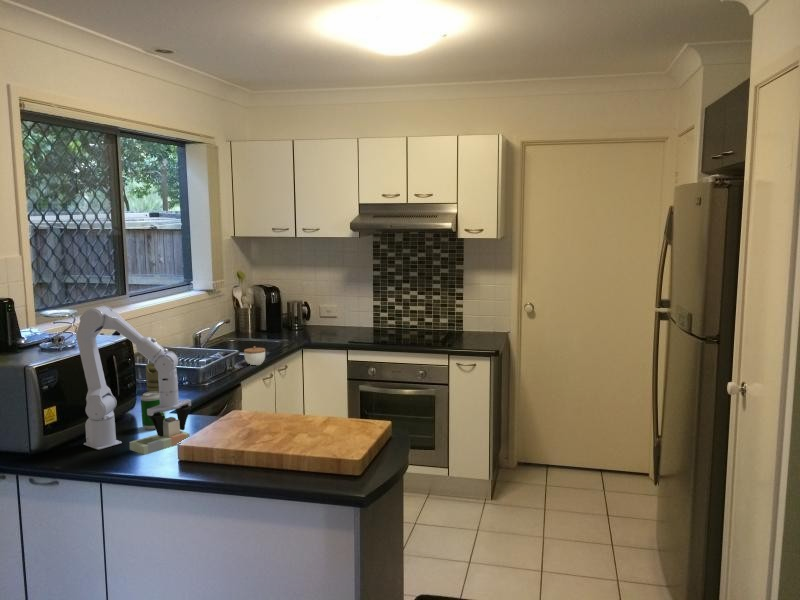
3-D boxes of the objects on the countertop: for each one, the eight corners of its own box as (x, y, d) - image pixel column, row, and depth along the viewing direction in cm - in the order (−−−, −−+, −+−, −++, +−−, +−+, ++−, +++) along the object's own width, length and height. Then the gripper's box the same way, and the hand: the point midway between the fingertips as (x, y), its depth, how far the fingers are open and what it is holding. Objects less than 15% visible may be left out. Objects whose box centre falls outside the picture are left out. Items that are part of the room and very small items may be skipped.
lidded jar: (269, 364, 338) (268, 346, 337) (248, 367, 332) (247, 348, 331) (261, 361, 347) (260, 343, 346) (241, 364, 341) (240, 346, 340)
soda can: (161, 430, 227) (159, 395, 226) (139, 431, 227) (136, 396, 226) (168, 424, 234) (166, 390, 233) (147, 424, 234) (145, 391, 233)
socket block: (129, 449, 207) (129, 441, 206) (175, 436, 219) (175, 428, 219) (144, 454, 202) (143, 445, 201) (190, 441, 214) (189, 432, 214)
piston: (162, 367, 276) (139, 366, 280) (164, 395, 278) (141, 394, 281) (179, 361, 287) (157, 361, 291) (180, 389, 288) (159, 388, 292)
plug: (162, 442, 213) (160, 418, 212) (173, 439, 216) (171, 415, 216) (169, 444, 211) (168, 420, 210) (180, 441, 214) (179, 417, 213)
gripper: (154, 397, 204) (157, 440, 205) (195, 387, 215) (198, 429, 216) (142, 394, 208) (145, 436, 209) (183, 385, 219) (185, 425, 221)
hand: (171, 432), depth 213 cm, fingers open, 7 cm apart
